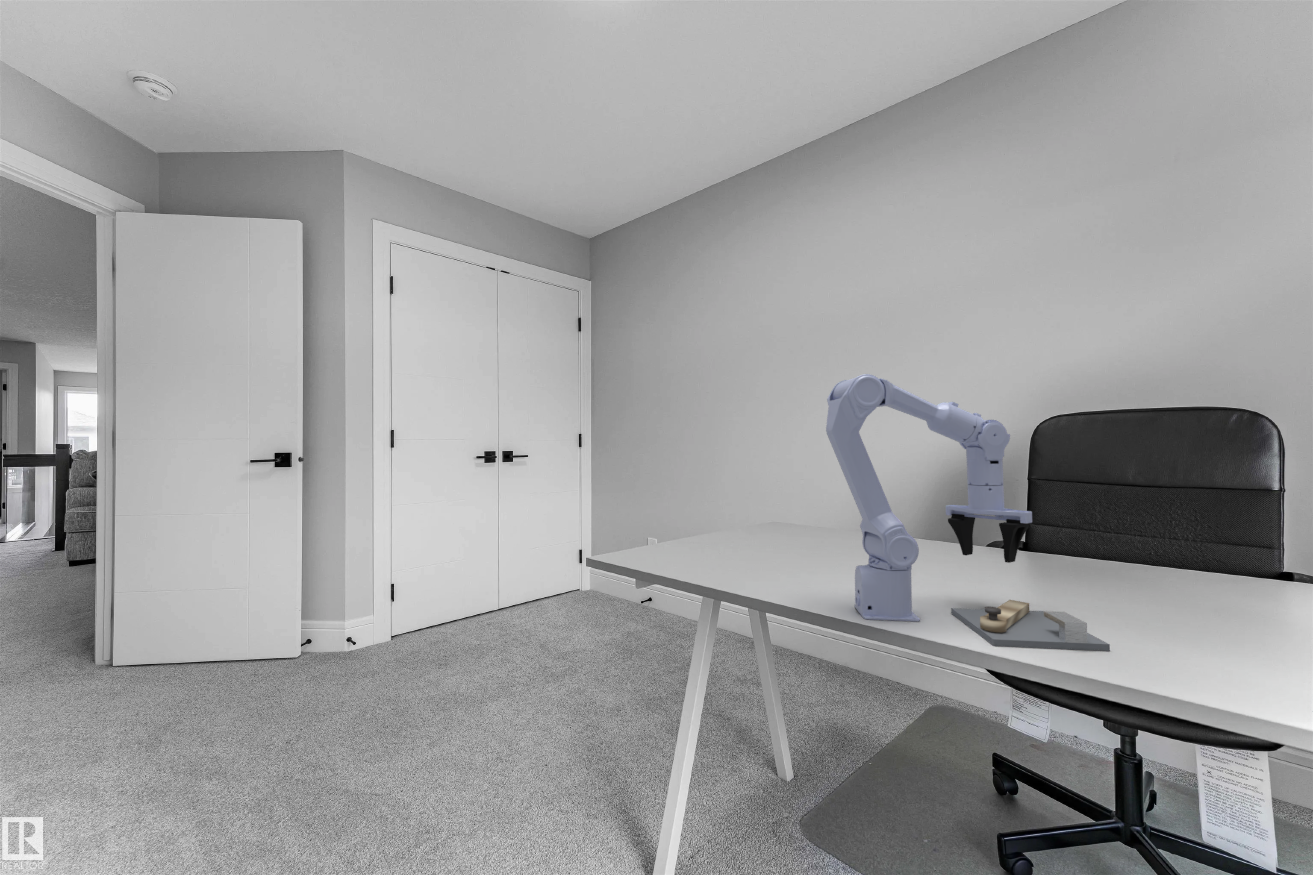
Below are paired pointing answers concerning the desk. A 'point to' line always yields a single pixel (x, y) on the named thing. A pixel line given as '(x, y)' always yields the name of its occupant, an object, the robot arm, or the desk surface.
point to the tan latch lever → (1003, 616)
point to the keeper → (1069, 627)
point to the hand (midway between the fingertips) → (988, 558)
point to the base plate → (1026, 632)
